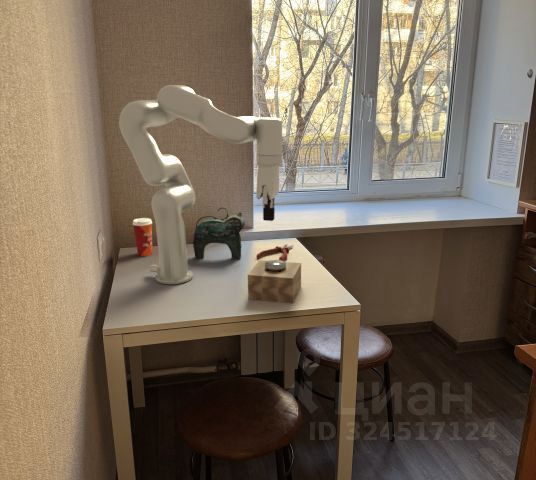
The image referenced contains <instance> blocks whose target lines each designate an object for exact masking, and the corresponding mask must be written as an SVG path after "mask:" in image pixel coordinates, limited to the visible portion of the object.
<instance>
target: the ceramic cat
mask: <svg viewBox="0 0 536 480" xmlns="http://www.w3.org/2000/svg"><path fill="white" fill-rule="evenodd" d="M223 209H224V210H225V211H226V217H224V218H220V217H215V216H212V215H207V216H202V217H200V218H199V219H198V220H197V221H196V225H195V231H194V233H193V241H192V245H193V246H192V247H193V251H194V258H195V259H197V260H198V259H200V260H201V259H204V258H205V249H206V246H208V245H209V244H213V243H215V244H222V245H223V244H224V245H227V247H228V249H229V251H230V254H231V260H241V258H242V237H241V234H240V232H241V231H242V230H243V229H244V227H245V224H246V223H245V222H246V221H245V218H244V217H243V214H242V212H240V211H239V212H238V213H237V214H232V215H231V214H229V213H228V209H227V208H226V207H219V208H218V210H217V211H218V212H219V211H220V210H223ZM206 218H210V219H206ZM202 219H205V220H203V221H201V220H202ZM199 221H201V222H200V223H199ZM198 223H199V224H198Z"/></svg>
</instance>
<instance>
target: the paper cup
mask: <svg viewBox="0 0 536 480" xmlns="http://www.w3.org/2000/svg"><path fill="white" fill-rule="evenodd" d="M132 226H133V231H134V237H135V238H134V239H135V246H136V250H137V255H138V256H140V257H148V256H151V255H153V228H152V227H153V221H152V219H151V218H148V217H140V218H134V219H133V220H132Z"/></svg>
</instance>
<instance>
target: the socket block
mask: <svg viewBox="0 0 536 480" xmlns="http://www.w3.org/2000/svg"><path fill="white" fill-rule="evenodd" d="M267 261H268V260H262V259H258V261H257V263H256V264H255V265H254V266H253V267H252V269H251V270H250V272H249V273H248V274H247V299H248V300H252V301H253V300H254V301H263V302H265V301H266V302H273V303H274V302H276V303H278V302H279V303H287V304H293V303H294V302H295V299H296V298H297V296H298V293H299V291H300V289H301V287H302V263H301V262H290V261H289V262H288V261H285V262H286V269H285V270H284V271H281V272H271V271H267V270H266V269H265V263H266V262H267Z"/></svg>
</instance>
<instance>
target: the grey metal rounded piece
mask: <svg viewBox="0 0 536 480" xmlns="http://www.w3.org/2000/svg"><path fill="white" fill-rule="evenodd" d="M266 261H267V262H266V263H265V269H266V270H267V271H271V272H281V271H284V270H285V269H286V262H287V261H281V260H279V259H271V260H266Z"/></svg>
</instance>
